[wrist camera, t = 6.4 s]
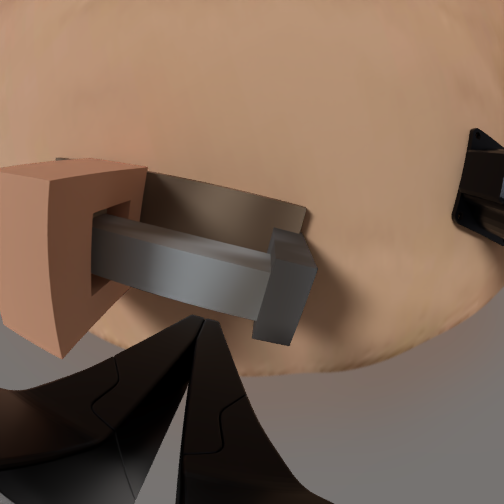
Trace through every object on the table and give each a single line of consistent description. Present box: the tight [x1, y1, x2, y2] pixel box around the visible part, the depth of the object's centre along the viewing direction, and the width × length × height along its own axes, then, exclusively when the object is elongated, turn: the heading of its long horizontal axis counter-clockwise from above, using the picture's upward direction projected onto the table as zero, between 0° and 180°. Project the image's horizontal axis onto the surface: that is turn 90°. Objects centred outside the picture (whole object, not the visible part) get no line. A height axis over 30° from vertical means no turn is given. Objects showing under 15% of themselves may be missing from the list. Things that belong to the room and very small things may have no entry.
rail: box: [56, 158, 318, 346], centre depth 13 cm, size 16×6×5 cm, turn 76°
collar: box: [0, 158, 148, 359], centre depth 11 cm, size 4×7×8 cm, turn 166°
